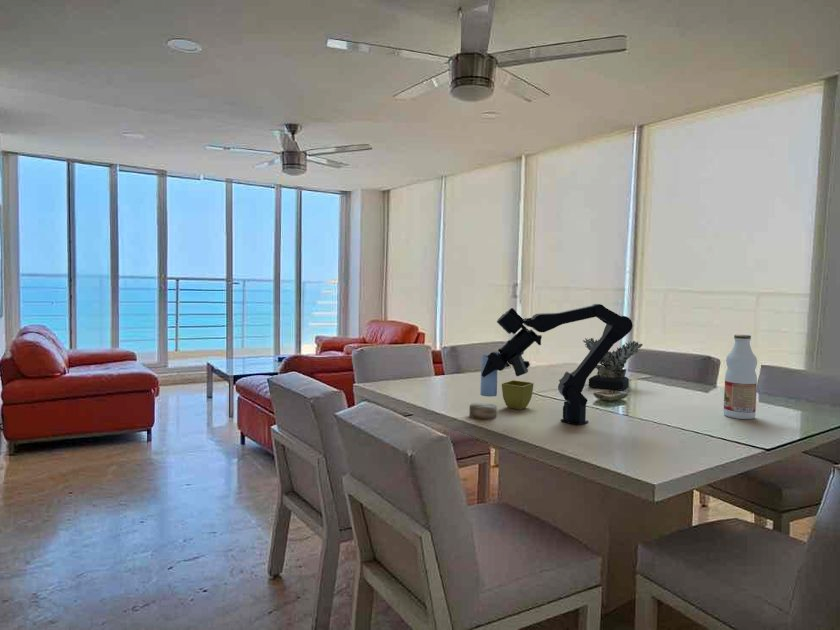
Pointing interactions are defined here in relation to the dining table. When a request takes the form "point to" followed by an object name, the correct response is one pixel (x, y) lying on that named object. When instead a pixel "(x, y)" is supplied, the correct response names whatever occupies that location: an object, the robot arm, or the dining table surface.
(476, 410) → the grey-beige round disc
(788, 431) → the dining table surface
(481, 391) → the vase
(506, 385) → the flower pot
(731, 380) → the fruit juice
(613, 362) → the coral
